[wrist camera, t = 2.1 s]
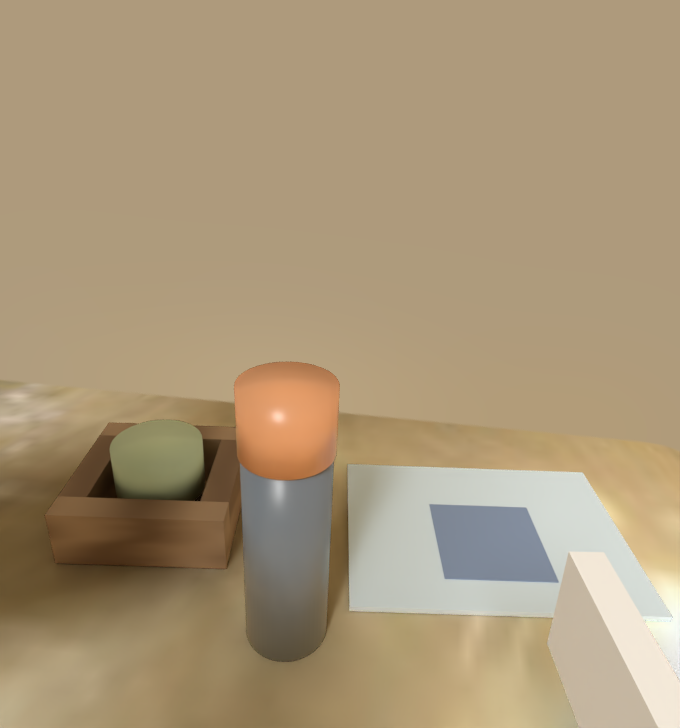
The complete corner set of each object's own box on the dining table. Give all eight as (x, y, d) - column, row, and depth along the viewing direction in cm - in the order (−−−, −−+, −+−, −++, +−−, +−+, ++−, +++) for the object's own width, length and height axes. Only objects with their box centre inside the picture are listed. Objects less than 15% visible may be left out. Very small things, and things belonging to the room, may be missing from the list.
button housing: (55, 563, 31) (44, 514, 29) (115, 463, 39) (108, 422, 38) (226, 568, 31) (223, 521, 30) (250, 468, 39) (249, 427, 38)
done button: (102, 512, 32) (95, 466, 31) (132, 459, 36) (127, 418, 35) (194, 515, 32) (191, 470, 31) (213, 462, 36) (210, 421, 35)
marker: (237, 662, 26) (225, 407, 20) (250, 592, 30) (242, 359, 24) (327, 664, 26) (339, 412, 21) (329, 594, 30) (339, 363, 24)
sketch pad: (349, 611, 29) (349, 605, 29) (347, 467, 40) (347, 463, 40) (671, 621, 29) (673, 616, 29) (581, 476, 40) (582, 471, 40)
